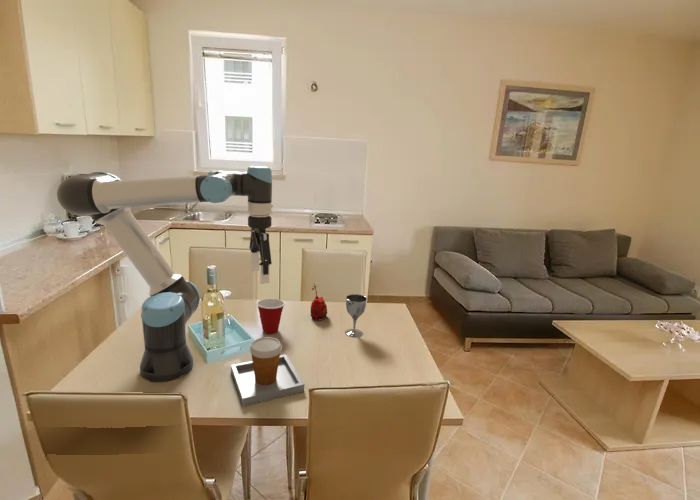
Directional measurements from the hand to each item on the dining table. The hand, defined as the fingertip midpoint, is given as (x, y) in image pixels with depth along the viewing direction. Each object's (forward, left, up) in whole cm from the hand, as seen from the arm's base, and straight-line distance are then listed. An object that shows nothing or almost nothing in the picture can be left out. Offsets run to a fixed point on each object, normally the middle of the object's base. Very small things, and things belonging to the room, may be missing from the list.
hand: (259, 276), depth 130 cm
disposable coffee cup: (-3, -21, -26) cm, 34 cm away
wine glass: (+37, -2, -27) cm, 46 cm away
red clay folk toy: (+29, +16, -27) cm, 43 cm away
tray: (-3, -21, -27) cm, 34 cm away
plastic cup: (+7, +11, -27) cm, 30 cm away
